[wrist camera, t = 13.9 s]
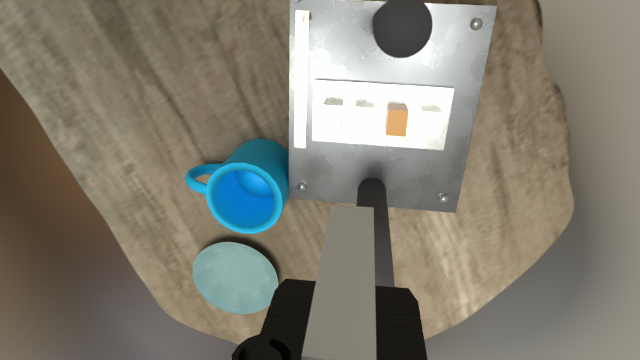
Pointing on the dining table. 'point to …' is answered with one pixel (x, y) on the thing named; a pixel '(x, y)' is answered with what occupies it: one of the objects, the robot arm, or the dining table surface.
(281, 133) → the dining table surface
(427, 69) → the breaker panel
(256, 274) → the saucer
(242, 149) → the mug
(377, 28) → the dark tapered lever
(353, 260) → the robot arm
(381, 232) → the dark grey upright post
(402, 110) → the orange cube
